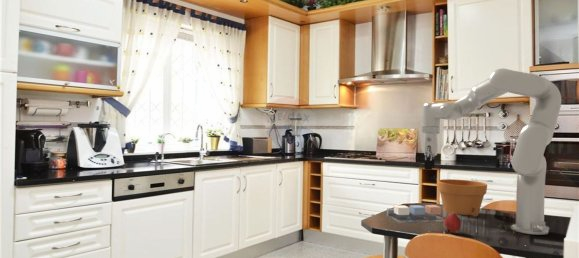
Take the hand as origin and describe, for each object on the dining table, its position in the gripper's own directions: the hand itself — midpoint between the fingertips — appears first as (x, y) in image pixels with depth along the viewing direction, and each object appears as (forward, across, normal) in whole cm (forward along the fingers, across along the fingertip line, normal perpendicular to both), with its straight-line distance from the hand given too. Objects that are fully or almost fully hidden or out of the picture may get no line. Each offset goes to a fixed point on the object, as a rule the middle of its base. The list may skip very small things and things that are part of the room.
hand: (429, 168), depth 193 cm
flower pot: (+21, +10, -14) cm, 27 cm away
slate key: (+18, -14, +3) cm, 23 cm away
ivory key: (+18, -18, +9) cm, 27 cm away
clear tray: (+21, -14, +3) cm, 26 cm away
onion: (+21, -28, -12) cm, 37 cm away
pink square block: (+18, -10, -3) cm, 21 cm away
